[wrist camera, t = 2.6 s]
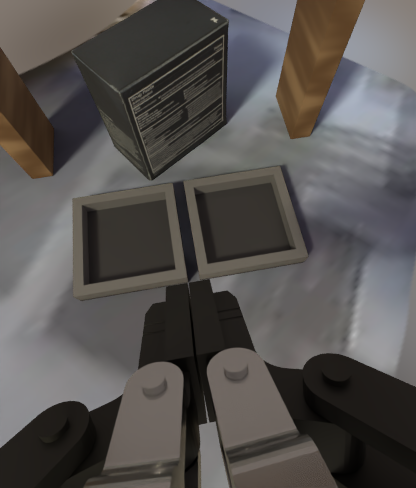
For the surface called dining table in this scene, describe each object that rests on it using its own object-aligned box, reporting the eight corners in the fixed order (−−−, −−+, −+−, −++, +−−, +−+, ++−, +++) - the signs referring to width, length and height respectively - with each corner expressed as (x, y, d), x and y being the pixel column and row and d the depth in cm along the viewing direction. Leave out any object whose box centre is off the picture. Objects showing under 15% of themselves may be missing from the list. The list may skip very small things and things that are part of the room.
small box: (187, 91, 34) (176, -19, 25) (228, 124, 33) (234, 19, 23) (110, 144, 32) (65, 45, 22) (150, 183, 30) (121, 94, 20)
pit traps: (81, 300, 26) (73, 296, 24) (79, 206, 29) (72, 198, 28) (303, 262, 27) (308, 256, 25) (276, 175, 30) (279, 166, 29)
